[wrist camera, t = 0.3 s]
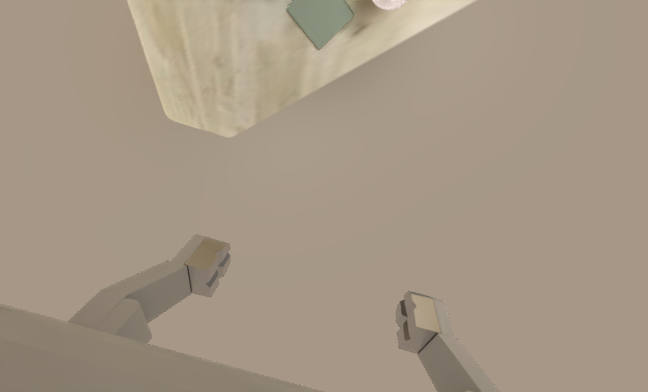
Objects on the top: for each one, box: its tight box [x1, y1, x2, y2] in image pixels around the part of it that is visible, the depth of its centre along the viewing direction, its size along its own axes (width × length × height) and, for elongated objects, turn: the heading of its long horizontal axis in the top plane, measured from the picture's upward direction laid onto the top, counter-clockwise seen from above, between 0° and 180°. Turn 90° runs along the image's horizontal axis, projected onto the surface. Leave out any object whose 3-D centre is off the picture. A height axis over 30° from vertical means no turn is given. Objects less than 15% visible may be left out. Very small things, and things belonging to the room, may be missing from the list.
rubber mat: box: [287, 0, 354, 50], centre depth 46 cm, size 9×9×1 cm
